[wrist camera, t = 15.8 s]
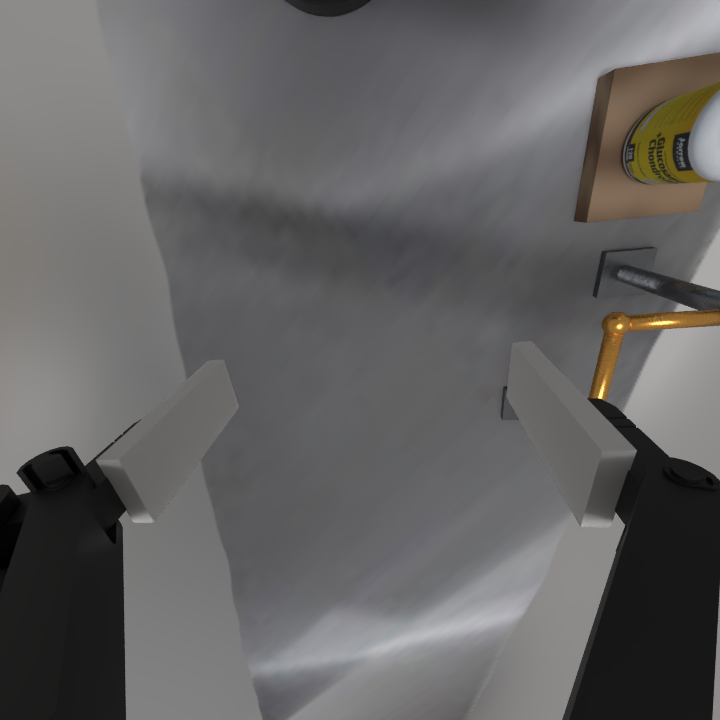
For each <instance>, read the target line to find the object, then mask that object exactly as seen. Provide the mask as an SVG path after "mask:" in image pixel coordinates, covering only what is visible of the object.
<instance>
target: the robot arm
mask: <svg viewBox="0 0 720 720" xmlns="http://www.w3.org/2000/svg"><path fill="white" fill-rule="evenodd" d="M286 1H287V2H288V3H290V4H291V5H293V6H295V7H296V8H298V9H300V10H302V11H305V12H307V13H310V14H314V15H319V16H336V15H341V14H345V13H348V12H351V11H353V10H355V9H358V8H359V7H361V6H363V5H364V4H366V3H367V2H369V1H370V0H286ZM506 397H507V399H508V401H509V403H510V404H511V406H512V408H513V410H514V411H515V413H516V415H517V417H518V418H519V420H520V422H521V424H522V425H523V427H524V429H525V431H526V432H527V434H528V436H529V438H530V439H531V441H532V443H533V445H534V446H535V448H536V450H537V452H538V453H539V455H540V457H541V459H542V460H543V462H544V464H545V466H546V467H547V469H548V471H549V473H550V474H551V476H552V478H553V480H554V481H555V483H556V485H557V487H558V488H559V490H560V492H561V494H562V495H563V497H564V499H565V501H566V502H567V504H568V506H569V508H570V509H571V511H572V513H573V515H574V516H575V518H576V520H577V521H578V523H579V525H580V527H611V524H612V521H613V518H614V515H615V512H616V513H617V514H618V516H619V517H620V518H621V520H622V521H623V523H624V524H625V528H624V530H623V533H622V536H621V538H620V542H619V544H618V547H617V549H616V555H615V558H614V561H613V564H612V567H611V570H610V573H609V577H608V580H607V583H606V586H605V589H604V592H603V595H602V598H601V602H600V604H599V608H598V611H597V614H596V617H595V620H594V624H593V626H592V630H591V633H590V636H589V639H588V642H587V645H586V648H585V651H584V654H583V657H582V660H581V663H580V667H579V670H578V673H577V676H576V679H575V682H574V686H573V689H572V692H571V695H570V698H569V701H568V704H567V707H566V710H565V714H564V716H563V719H562V720H712V713H713V696H714V678H715V659H716V643H717V624H718V606H719V588H720V480H719V479H717V478H716V476H715V475H713V474H712V473H710V472H709V471H707V470H705V469H704V468H702V467H700V466H698V465H696V464H693V463H691V462H688V461H685V460H681V459H677V458H670V457H669V456H668V455H667V454H666V453H664V451H663V450H661V449H660V448H659V447H658V446H657V445H656V444H655V443H654V442H653V441H652V440H651V439H650V438H649V437H648V436H646V435H645V434H644V433H643V432H642V431H641V430H640V429H639V428H636V425H635V424H634V423H633V422H632V421H630V420H629V419H627V417H626V416H625V415H624V414H623V413H622V412H621V411H620V410H619V409H618V408H617V407H615V406H613V405H612V404H610V403H608V402H606V401H604V400H602V399H600V398H588V399H587V398H586V397H585V396H584V395H583V394H582V393H581V392H580V391H579V390H578V389H577V388H576V387H575V386H574V385H573V384H572V383H571V382H570V381H569V380H568V379H567V378H566V377H565V376H564V375H563V374H562V373H561V371H560V370H559V369H558V368H557V367H556V366H555V365H554V364H553V363H552V362H551V361H550V360H549V359H548V358H547V357H546V356H545V355H544V354H543V353H542V352H541V351H540V350H539V349H538V348H537V347H536V346H535V345H534V344H533V343H532V342H531V341H529V342H512V349H511V359H510V368H509V377H508V386H507V396H506ZM238 408H239V406H238V403H237V400H236V397H235V393H234V390H233V387H232V384H231V381H230V378H229V375H228V372H227V369H226V366H225V363H224V360H209V361H207V362H206V363H205V364H204V365H203V366H202V367H201V368H199V369H198V370H197V371H196V372H195V373H194V374H193V375H192V376H190V377H189V378H188V379H187V380H186V381H185V382H184V383H182V385H180V386H179V387H178V388H177V389H176V390H175V391H173V392H172V393H171V394H170V395H169V396H168V397H167V398H166V399H164V400H163V401H162V402H161V403H160V404H159V405H158V406H157V407H155V408H154V409H153V410H152V411H151V412H150V413H149V414H147V415H146V416H145V417H144V418H143V419H141V420H139V421H138V422H136V423H134V424H133V425H132V426H131V427H130V428H128V429H127V430H126V431H125V432H124V433H123V435H120V436H119V437H118V438H117V439H116V440H115V442H112V443H111V444H110V445H109V446H108V447H106V448H105V449H104V450H103V451H102V452H101V453H100V454H99V455H97V456H96V457H95V458H94V459H93V460H92V461H90V462H89V463H88V464H87V465H86V466H84V465H83V463H82V462H81V460H80V459H79V457H78V455H77V454H76V452H75V451H74V449H73V448H72V447H68V446H66V447H59V448H55V449H52V450H49V451H46V452H44V453H42V454H40V455H38V456H36V457H34V458H33V459H31V460H29V461H28V462H26V463H25V464H24V465H23V466H21V467H20V469H19V470H18V472H17V474H18V476H19V477H20V478H21V479H22V481H23V482H24V483H25V485H26V486H27V487H28V489H29V490H30V491H31V492H29V493H26V494H21V495H16V494H15V493H14V492H13V490H12V489H11V488H10V487H9V486H8V485H3V484H2V485H0V720H126V703H125V702H126V700H125V698H126V697H125V647H124V645H125V639H124V586H123V585H124V583H123V582H124V581H123V530H122V529H123V527H122V525H121V523H120V521H119V520H118V519H119V518H120V516H121V515H122V514H123V513H124V512H125V511H127V512H128V514H129V516H130V517H131V519H132V521H133V522H136V523H154V522H155V521H156V520H157V519H158V517H159V516H160V514H161V513H162V512H163V510H164V509H165V508H166V506H167V505H168V504H169V502H170V501H171V500H172V498H173V497H174V495H175V494H176V493H177V491H178V490H179V488H180V487H181V486H182V485H183V483H184V482H185V480H186V479H187V478H188V476H189V475H190V473H191V472H192V471H193V470H194V468H195V467H196V465H197V464H198V463H199V461H200V460H201V459H202V457H203V456H204V455H205V453H206V452H207V450H208V449H209V448H210V446H211V445H212V444H213V442H214V441H215V440H216V438H217V437H218V435H219V434H220V433H221V431H222V430H223V429H224V427H225V426H226V425H227V423H228V422H229V421H230V419H231V418H232V416H233V415H234V414H235V412H236V411H237V410H238Z"/></svg>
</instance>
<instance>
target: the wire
mask: <svg viewBox="0 0 720 720" xmlns="http://www.w3.org/2000/svg"><path fill="white" fill-rule="evenodd" d="M657 249H658V248H654V247H649V248H638V249H627V250H616V251H605V252H602V256H601V261H600V265H599V270H598V275H597V279H596V284H595V289H594V294H593V296H594V297H596V298H601V297H615V296H628V295H642V294H645V291H647V292H650V293H653V294H656V295H658V296H661V297H664V298H667V299H669V300H672V301H675V302H678V303H680V304H683V305H686V306H688V307H691V308H694V309H697V310H698V311H683V312H668V313H653V314H638V315H627V314H625V313H623V312H613V313H610V314H608V315H607V316H605V317H604V319H603V320H602V329H603V330H604V336H603V340H602V344H601V348H600V352H599V357H598V361H597V365H596V369H595V373H594V377H593V382H592V386H591V390H590V394H589V398H600V399H602V400H604V401H606V399H607V396H608V392H609V388H610V384H611V381H612V377H613V373H614V370H615V366H616V362H617V358H618V355H619V351H620V347H621V344H622V340H623V336H624V334H625V333H627V332H628V331H640V330H656V329H672V328H688V327H705V326H720V291H717V290H714V289H710V288H707V287H703V286H700V285H696V284H693V283H689V282H686V281H682V280H679V279H675V278H672V277H668V276H665V275H661V274H658V273H654V272H651V270H652V266H653V263H654V259H655V256H656V252H657ZM506 396H507V387H504V390H503V400H502V409H501V418H502V420H519V418H518V417H517V415H516V413H515V411H514V410H513V408H512V406H511V404H510V403H509V401H508V399H507V397H506Z"/></svg>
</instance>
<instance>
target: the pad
mask: <svg viewBox="0 0 720 720" xmlns="http://www.w3.org/2000/svg"><path fill="white" fill-rule="evenodd" d="M717 82H720V53H715V54H709V55H702V56H696V57H689V58H683V59H676V60H670V61H664V62H657V63H651V64H644V65H638V66H632V67H625V68H619V69H614V70H613V71H611V72H609V73H607V74H606V75H604V76H602V77H601V78H599V79H598V83H597V89H596V95H595V101H594V107H593V113H592V119H591V125H590V130H589V136H588V142H587V148H586V154H585V160H584V166H583V172H582V178H581V184H580V190H579V196H578V201H577V207H576V213H575V219H574V221H578V222H586V223H587V222H597V221H607V220H617V219H627V218H637V217H647V216H656V215H666V214H676V213H686V212H696V211H699V208H700V205H701V202H702V198H703V195H704V192H705V189H706V186H707V183H708V182H700V183H679V184H655V185H649V184H642V183H639V182H637V181H635V180H633V179H632V178H631V177H630V176H629V175H628V174H627V172H626V170H625V167H624V163H623V152H624V147H625V143H626V140H627V138H628V136H629V134H630V132H631V130H632V129H633V127H634V126H635V124H636V123H637V122H638V121H639V120H640V119H641V117H642V116H644V115H645V114H646V113H647V112H648V111H649V110H651V109H652V108H653V107H655V106H657V105H658V104H660V103H662V102H664V101H667V100H669V99H672V98H675V97H678V96H680V95H683V94H686V93H689V92H692V91H694V90H697V89H700V88H703V87H706V86H709V85H711V84H714V83H717Z"/></svg>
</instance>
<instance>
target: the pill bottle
mask: <svg viewBox="0 0 720 720" xmlns="http://www.w3.org/2000/svg"><path fill="white" fill-rule="evenodd" d="M623 163H624V167H625V170H626V172H627V174H628V175H629V176H630V177H631V178H632V179H633V180H635V181H637V182H639V183H642V184H649V185H655V184H679V183H700V182H720V82H717V83H714V84H711V85H709V86H706V87H703V88H700V89H697V90H694V91H692V92H689V93H686V94H683V95H680V96H678V97H675V98H672V99H669V100H667V101H664V102H662V103H660V104H658V105H657V106H655V107H653V108H652V109H651V110H649V111H648V112H647V113H646V114H645V115H644V116H642V117H641V119H640V120H639V121H638V122H637V123H636V124H635V126H634V127H633V129H632V130H631V132H630V134H629V136H628V138H627V140H626V143H625V147H624V152H623Z"/></svg>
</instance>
